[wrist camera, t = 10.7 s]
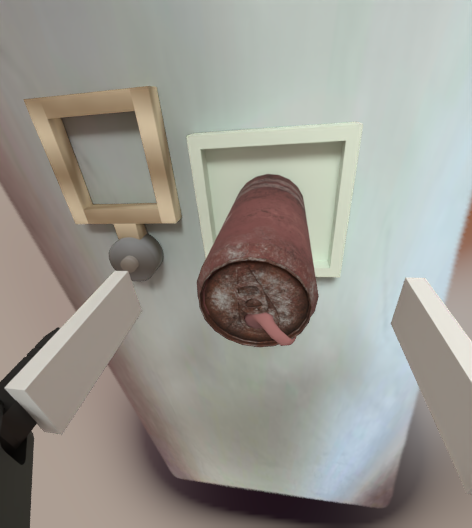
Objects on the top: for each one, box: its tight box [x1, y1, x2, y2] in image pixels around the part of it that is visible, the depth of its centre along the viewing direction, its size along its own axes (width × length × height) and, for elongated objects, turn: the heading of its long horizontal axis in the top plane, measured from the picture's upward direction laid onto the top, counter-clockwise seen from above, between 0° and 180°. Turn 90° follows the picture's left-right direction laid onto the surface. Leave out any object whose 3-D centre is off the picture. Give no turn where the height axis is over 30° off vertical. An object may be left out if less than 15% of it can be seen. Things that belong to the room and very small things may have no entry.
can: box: [197, 174, 318, 347], centre depth 19 cm, size 6×6×14 cm
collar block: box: [23, 86, 182, 282], centre depth 26 cm, size 18×11×3 cm, turn 4°
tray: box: [186, 122, 363, 277], centre depth 24 cm, size 13×13×2 cm
